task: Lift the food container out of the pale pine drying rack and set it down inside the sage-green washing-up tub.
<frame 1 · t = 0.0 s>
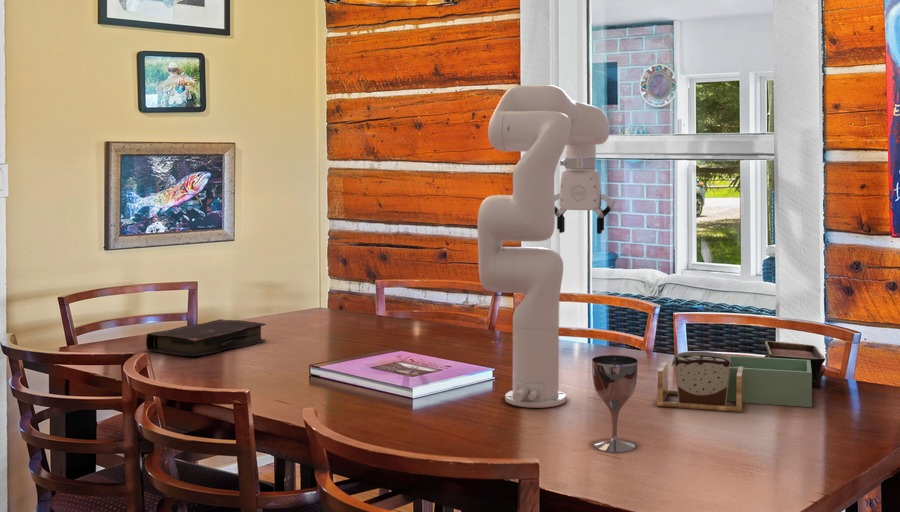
hand: (580, 232, 243), 31 cm above the table, tool pointing down, fingers open, 9 cm apart
wine glass: (614, 447, 169), on the table
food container: (700, 403, 198), resting in drying rack
drying rack: (700, 402, 198), on the table
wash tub: (767, 396, 203), on the table
dark brown tapered box: (791, 381, 218), on the table
diary: (208, 347, 255), on the table
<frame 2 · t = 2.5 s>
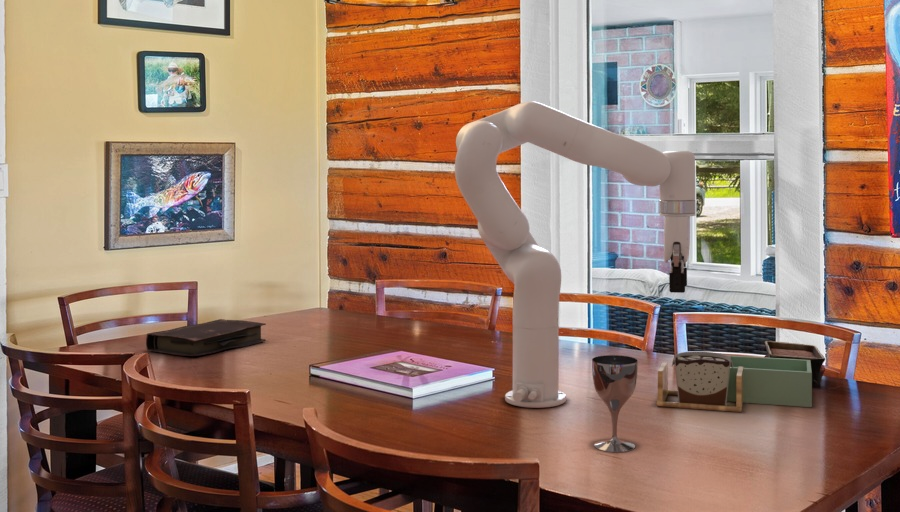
hand: (678, 289, 206), 22 cm above the table, tool pointing down, fingers open, 9 cm apart
nothing on the table moved.
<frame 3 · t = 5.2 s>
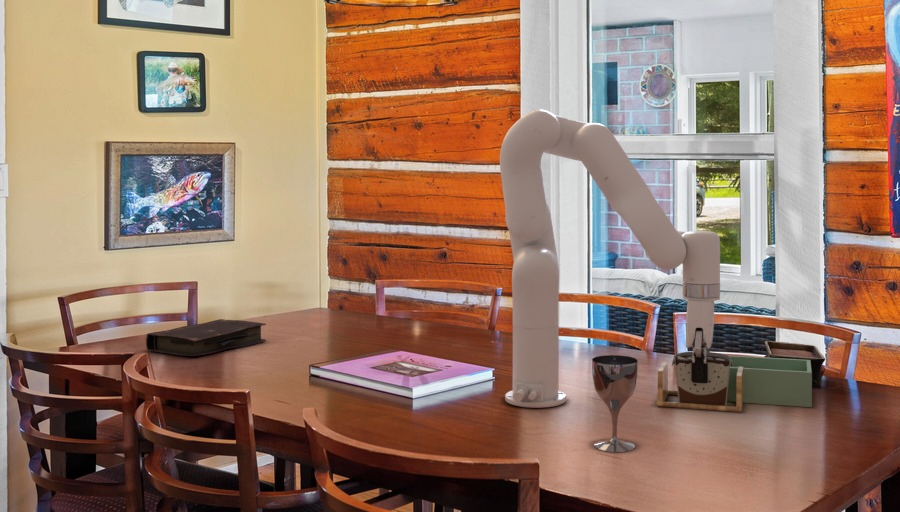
hand: (701, 377, 198), 5 cm above the table, tool pointing down, fingers closed on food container, 6 cm apart
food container: (701, 403, 198), resting in drying rack, touching gripper
everything else where it was.
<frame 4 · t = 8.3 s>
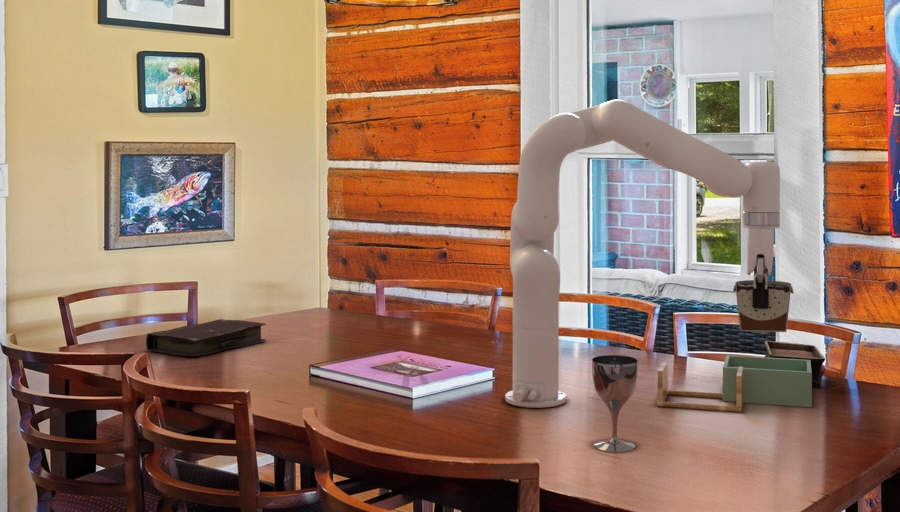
hand: (761, 305, 203), 19 cm above the table, tool pointing down, fingers closed on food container, 6 cm apart
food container: (761, 330, 203), point 14 cm above the table, touching gripper
everything else where it was.
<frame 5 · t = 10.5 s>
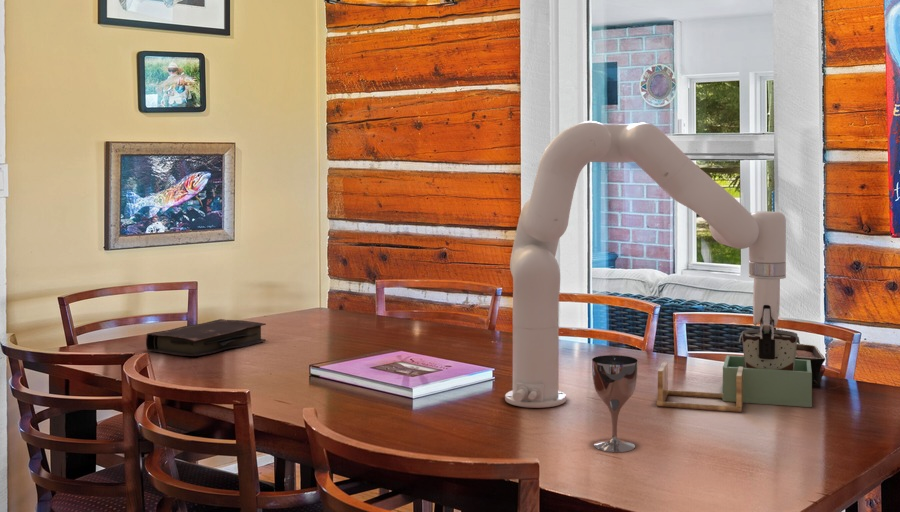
hand: (767, 354, 203), 9 cm above the table, tool pointing down, fingers closed on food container, 6 cm apart
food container: (767, 379, 203), point 4 cm above the table, touching gripper
everything else where it was.
when the fingers open (6 cm above the table, at t = 11.8 s): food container stays where it is, resting on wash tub.
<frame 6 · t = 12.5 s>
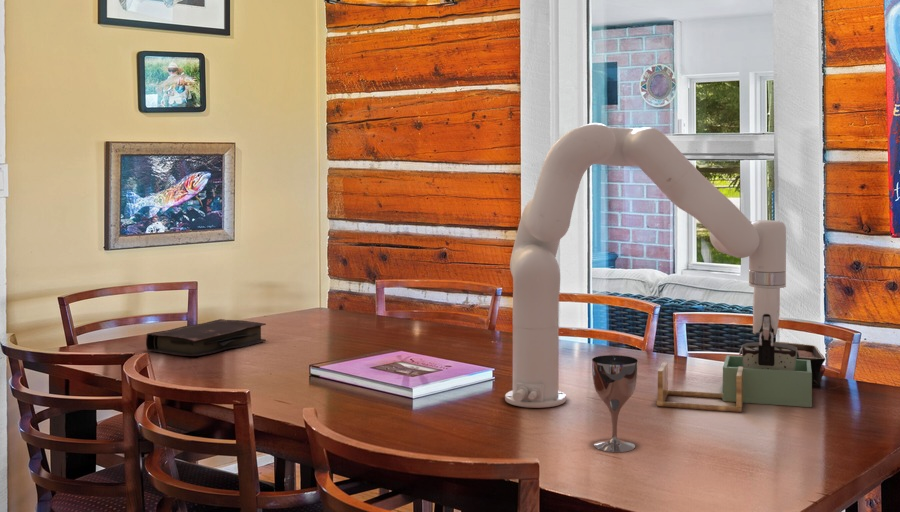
hand: (766, 360, 203), 8 cm above the table, tool pointing down, fingers open, 9 cm apart
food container: (766, 392, 203), point 1 cm above the table, touching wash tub
everything else where it was.
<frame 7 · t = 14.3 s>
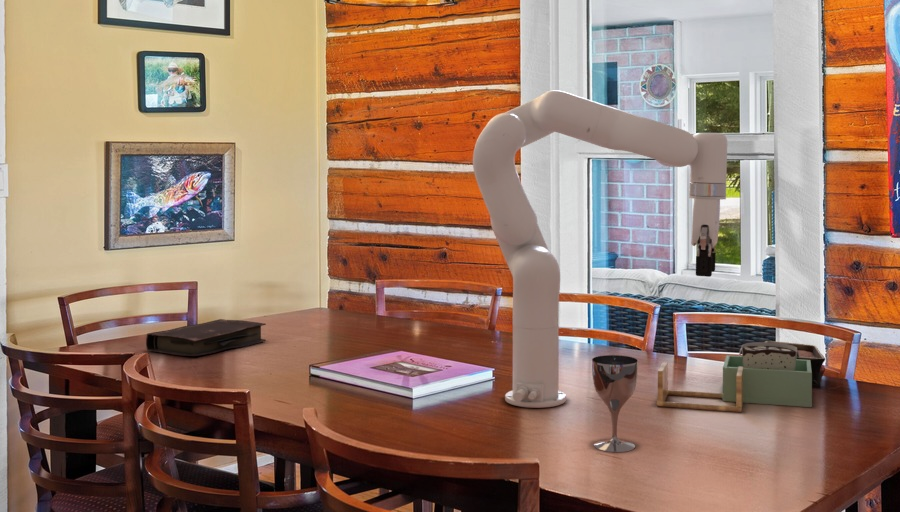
hand: (705, 273, 202), 26 cm above the table, tool pointing down, fingers open, 9 cm apart
nothing on the table moved.
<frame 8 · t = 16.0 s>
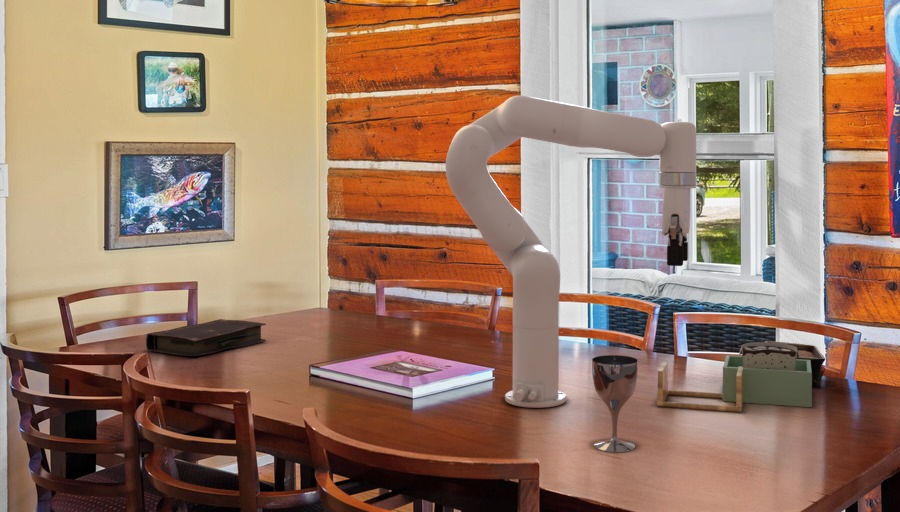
hand: (677, 263, 201), 28 cm above the table, tool pointing down, fingers open, 9 cm apart
nothing on the table moved.
at the end: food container inside the target area in the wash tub (0.1 cm from its centre), point 0.8 cm above the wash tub's base; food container tilted 0°; the gripper is holding nothing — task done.
